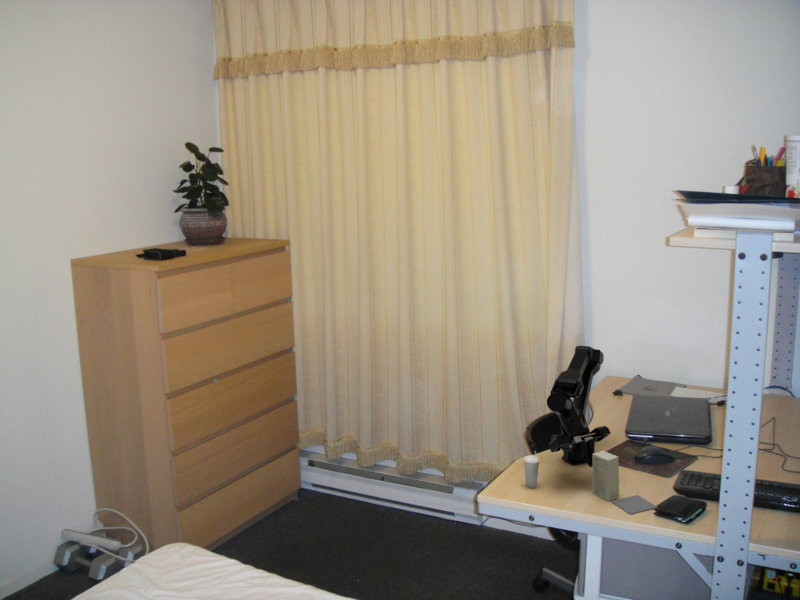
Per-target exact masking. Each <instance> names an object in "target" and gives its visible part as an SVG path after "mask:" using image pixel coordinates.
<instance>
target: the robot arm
mask: <svg viewBox="0 0 800 600" xmlns="http://www.w3.org/2000/svg"><path fill="white" fill-rule="evenodd" d="M604 358H605V355H604V353H603V352H602V351H601V350H600V349H595V348H593V347H592V346H590V345H588V346H587V345H576V346H575V349H574V354H573V356H572V358H571V360H570V362H569V365H568V367H567V368H566V370H563V371H561V372H560V373H559V375H558V376H557V378H556V379H555V380H554V382H553V386H552V387H551V390H550V394H549V396H548V397H547V399H546V405H547V408H548V410H550V411H551V412H552V413H555V414H556V415H557V417H558V419H559V421H560V422H561V423H560V425H559V433H558V434H553V435H551V437H550V440H551V441H549V443H548V448H549V450H550V452H551V453H556V452H560V451H563V455H562V456H561V459H562V460H564V461H565V462H567V463H569V464H570V465H572V466H577V465H580V464H584V463H585V464H587V465H588V466H589V467H590V468H593V460H592V454H593V453H595V447H596V446H595V445H596V443H598V442H601V441H603V440H605V439H606V438H607V437H608V436H610V435H611V434H612V432H611V430H610V429H609V427H608V426H607V425H603V426H597V427H595V428H594V429H592V430H590V428H589V424H588V421H587V418H586V413H587V407H588V403H589V399H590V398H589V397H590V393H591V388H592V383H593V378H594V376H595V375H596V374H597V373H599V371H600V370H601V366H602V364H604V360H605V359H604ZM572 398H573V399H572Z"/></svg>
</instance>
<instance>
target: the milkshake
mask: <svg viewBox="0 0 800 600" xmlns="http://www.w3.org/2000/svg"><path fill="white" fill-rule="evenodd" d="M542 455H543V454H541V456H540V457H537V456H536V455H530V454H529V455H525V457H523V468H524V479H525V480H524V481H525V487H526V488H529V489H534V488H536V487H538V480H539V479H538V478H539V467H540V460H541V458H542Z"/></svg>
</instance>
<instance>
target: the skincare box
mask: <svg viewBox="0 0 800 600" xmlns="http://www.w3.org/2000/svg"><path fill="white" fill-rule="evenodd" d="M619 458H620V457H619V455H618V456H617V455H615V454H613V453H611V452H608V451H605V450H600V451H596V452H594V453H593V454H592V460H593V467H592V494H593V495H594V496H597V497H599V498H601V499H602V500H606V501H608V502H609V501H614V500H616V499H618V498H619V497H620V492H619V491H620V480H619V473H620V472H619V471H620V470H619V469H620V468H619V461H620V460H619Z"/></svg>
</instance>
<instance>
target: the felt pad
mask: <svg viewBox="0 0 800 600" xmlns="http://www.w3.org/2000/svg"><path fill="white" fill-rule="evenodd" d="M610 501H611V502H610V503H612V504H613V505H615V506H617V507H618V508H619V509H621V510H623V512H626V513H627V514H629V515H635V514H638V513H639V514H640V513H643V512H646V511H650V510H656V509H658V506H657V505H655V504H653V503H652V502H650V501H649V500H646V499H645V498H643V497H642V496H640V495H638V494H635V495H631V496H627V497H623V498H619V499H618V498H617V499H613V500H610Z"/></svg>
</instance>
